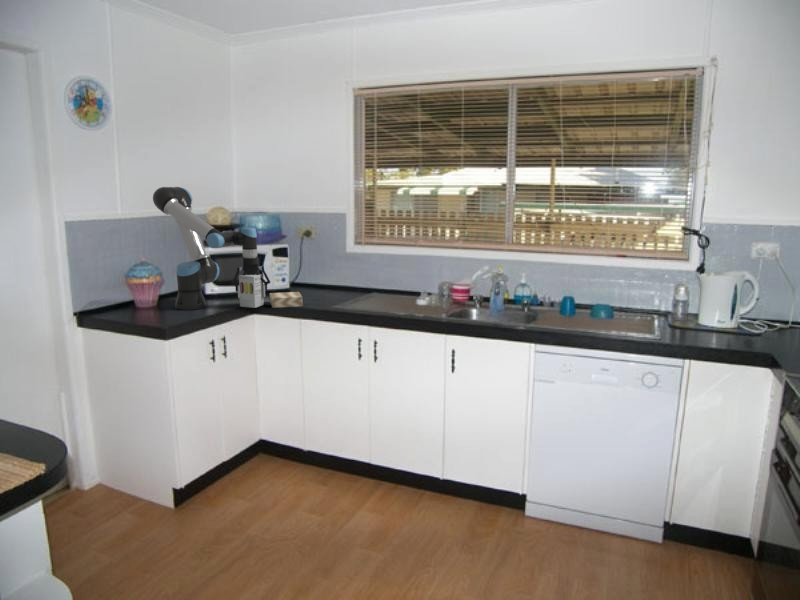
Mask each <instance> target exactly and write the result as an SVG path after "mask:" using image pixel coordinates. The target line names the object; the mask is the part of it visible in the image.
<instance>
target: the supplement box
mask: <svg viewBox="0 0 800 600" xmlns="http://www.w3.org/2000/svg"><path fill="white" fill-rule="evenodd" d="M260 276H261V277H262V278H263V279H264V274H263V273H262V274H261V273H259V275H256V274H254V275H247V274H246V275H242V274H240V275H239V274H238V280H239V284H238V285H239V291H240V298H239V307H241V308H252V309H255V308H259V307H261V306H264V303H265V301H264V300H265V297H264V293H263V284H264V283H263V282H262V280H261V278H260Z"/></svg>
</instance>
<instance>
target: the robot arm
mask: <svg viewBox="0 0 800 600" xmlns="http://www.w3.org/2000/svg"><path fill="white" fill-rule="evenodd" d="M152 201H153V204H154V206H155V207H156V208H157V209H158V210H160V212H162V213H163V214H165V215H169V216H171V217H173V219H174V220H175V223H176V225H177V228H178V230H179V232H180V235H181V238H182V241H183V243H184V246H185V249H186V251H187V253H188V255H189V261H184V262H181V263H179V264H178V265H177V266H176V272H175V274H176V282H177V283H176V284H177V296H176V300H175V305H174V306H175V309H177V310H183V311H187V310H190V311H191V310H199V309H203V308H206V306H207V302H206V299H205V297H204V296H205V295H204V294H203V292H202V291H203V289H202V285H205V284H210V283H213V282H215V281H216V280H217V279H218V278H219V276H220V267H219V264H218V263H217V262H215V261H214V260H213V259H212V258H211V255H209V254H207V252H206V250H205V247H204V245H203V242H202V240H201V238H203V239H204V240H205V241H206V244H207V245H208V247H210V248H212V249H221V248H225V247H231V246H238V247H239V246H240V247H241V248H242V257H243V258H242V263H243V264H242V266H237V267H236V273H235V275H234V277H233V278H232V282H231V285H233V286H235V292H236V293H237V297H238V299H240V290H239V279H238V277H239V274H240V272H241V271H243V273H242V274H241V275H246V274H247V275H254V274H256V275H259V274H260V273H259V272H258V271H259V270H260V271H261V272H262V274H263V278H262V277H261V276H260V278H261V280H262V282H263V295H264V298H266V291H268V285H269V284H271V280H270V279H269V276H268V275H267V272H266V271H265V267H264V265H261V266H259V263H258V262H259V260H258V259H259V258H258V245H257V243H258V240H257V239H258V238H257V237H258V235H257V234H258V233H257V229H256V228H255V227H242V228H241V231H240V230H239V231H238V230H235V231H234V230H223V231H222V232H221V231H220V230H218V229H216V228H215V227H214V226H212V225H211V224H209V223H208V222H206V221H205V220H204V219H202V218H201V217H199V216H198V215H196V213H194V212H192V210H193V208H192V205H193V197H192V194H191V193H190V191H189V190H188V189H186V188H184V187H181V186H161V187H159V188H157V189H156V190H154V192H153V196H152ZM264 277H265V279H266V280H265V279H264ZM237 279H238V280H237Z"/></svg>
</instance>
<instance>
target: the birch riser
mask: <svg viewBox="0 0 800 600" xmlns="http://www.w3.org/2000/svg"><path fill="white" fill-rule="evenodd" d="M303 300H304V299H303V296H302V294H301V293H300V292H299V291H290V292H289V291H287V292H284V291H283V292H269V303H270V305H271V308H274V309H276V308H289V307H290V308H292V307H293V308H294V307H295V308H296V307H297V308H298V307H303V306H304V303H303V302H304V301H303Z"/></svg>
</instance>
